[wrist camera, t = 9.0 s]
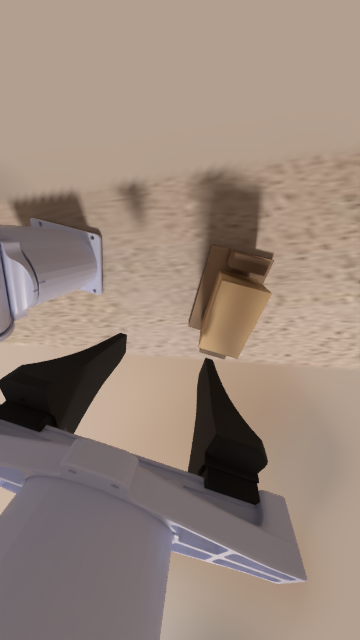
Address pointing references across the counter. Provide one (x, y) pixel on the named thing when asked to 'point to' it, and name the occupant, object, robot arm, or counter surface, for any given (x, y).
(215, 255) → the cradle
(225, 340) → the block
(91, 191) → the counter surface
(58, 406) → the robot arm
